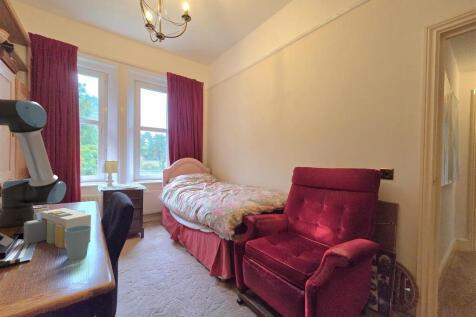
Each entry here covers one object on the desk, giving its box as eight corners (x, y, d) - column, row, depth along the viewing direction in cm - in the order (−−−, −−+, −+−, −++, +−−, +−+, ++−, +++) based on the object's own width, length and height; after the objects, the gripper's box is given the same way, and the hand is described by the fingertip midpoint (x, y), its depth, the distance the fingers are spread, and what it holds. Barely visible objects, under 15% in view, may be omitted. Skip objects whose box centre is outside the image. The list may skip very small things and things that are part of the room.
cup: (71, 264, 74) (72, 233, 74) (59, 259, 77) (60, 229, 77) (94, 255, 81) (95, 227, 81) (82, 251, 84) (83, 224, 84)
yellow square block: (60, 248, 86) (60, 226, 86) (55, 246, 87) (55, 224, 87) (82, 241, 93) (83, 221, 93) (77, 239, 94) (78, 220, 94)
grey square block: (27, 244, 88) (28, 223, 88) (23, 242, 90) (24, 221, 90) (51, 238, 95) (52, 218, 95) (47, 236, 97) (48, 217, 97)
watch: (56, 230, 106) (56, 207, 106) (33, 234, 100) (34, 210, 100) (53, 228, 110) (54, 206, 110) (31, 231, 103) (32, 208, 103)
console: (65, 248, 86) (66, 218, 86) (40, 237, 96) (40, 210, 96) (90, 241, 94) (91, 213, 94) (64, 232, 104) (64, 207, 104)
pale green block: (51, 244, 89) (51, 223, 89) (46, 242, 91) (47, 221, 91) (73, 238, 96) (74, 219, 96) (68, 236, 98) (69, 217, 98)
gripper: (-87, 212, 66) (-8, 248, 80) (-79, 219, 60) (5, 257, 74) (-57, 192, 71) (12, 230, 85) (-47, 196, 64) (27, 236, 79)
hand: (9, 242), depth 80 cm, fingers closed
